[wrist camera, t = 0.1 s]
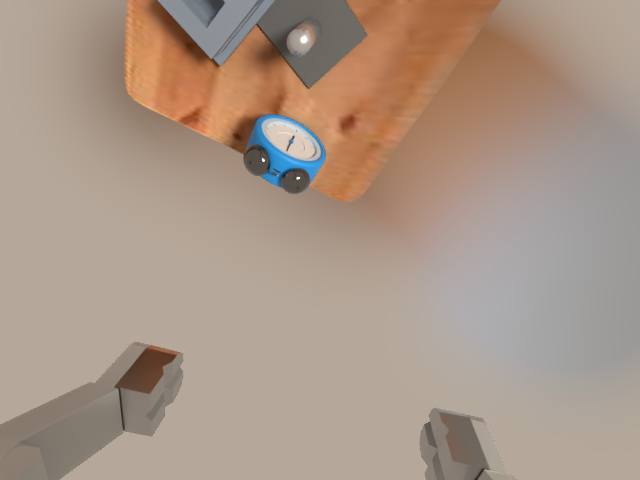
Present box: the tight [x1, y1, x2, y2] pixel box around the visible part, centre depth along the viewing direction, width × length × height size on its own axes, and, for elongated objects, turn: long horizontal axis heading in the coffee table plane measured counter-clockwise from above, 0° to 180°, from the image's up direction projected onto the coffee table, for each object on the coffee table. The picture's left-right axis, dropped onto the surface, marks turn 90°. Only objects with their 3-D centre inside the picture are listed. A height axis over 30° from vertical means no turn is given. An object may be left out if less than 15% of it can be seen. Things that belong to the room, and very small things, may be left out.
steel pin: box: [287, 17, 321, 57], centre depth 44 cm, size 3×3×10 cm
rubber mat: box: [257, 0, 367, 88], centre depth 47 cm, size 12×12×1 cm
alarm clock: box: [244, 114, 326, 194], centre depth 54 cm, size 13×6×15 cm, turn 62°
